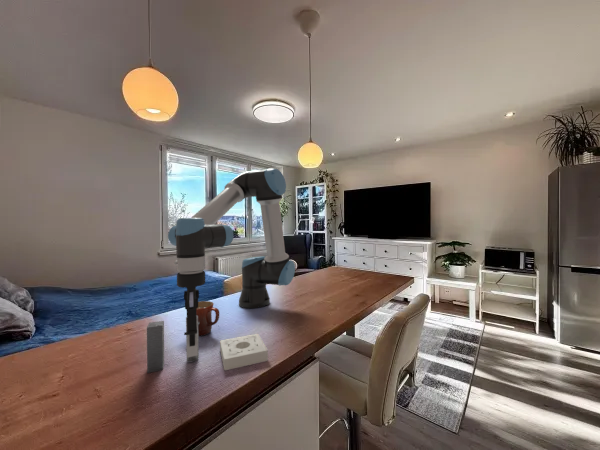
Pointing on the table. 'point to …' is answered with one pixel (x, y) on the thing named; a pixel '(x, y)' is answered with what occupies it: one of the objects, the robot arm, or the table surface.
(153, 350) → the square bit
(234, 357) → the bore block
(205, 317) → the mug
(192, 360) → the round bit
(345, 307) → the table surface
